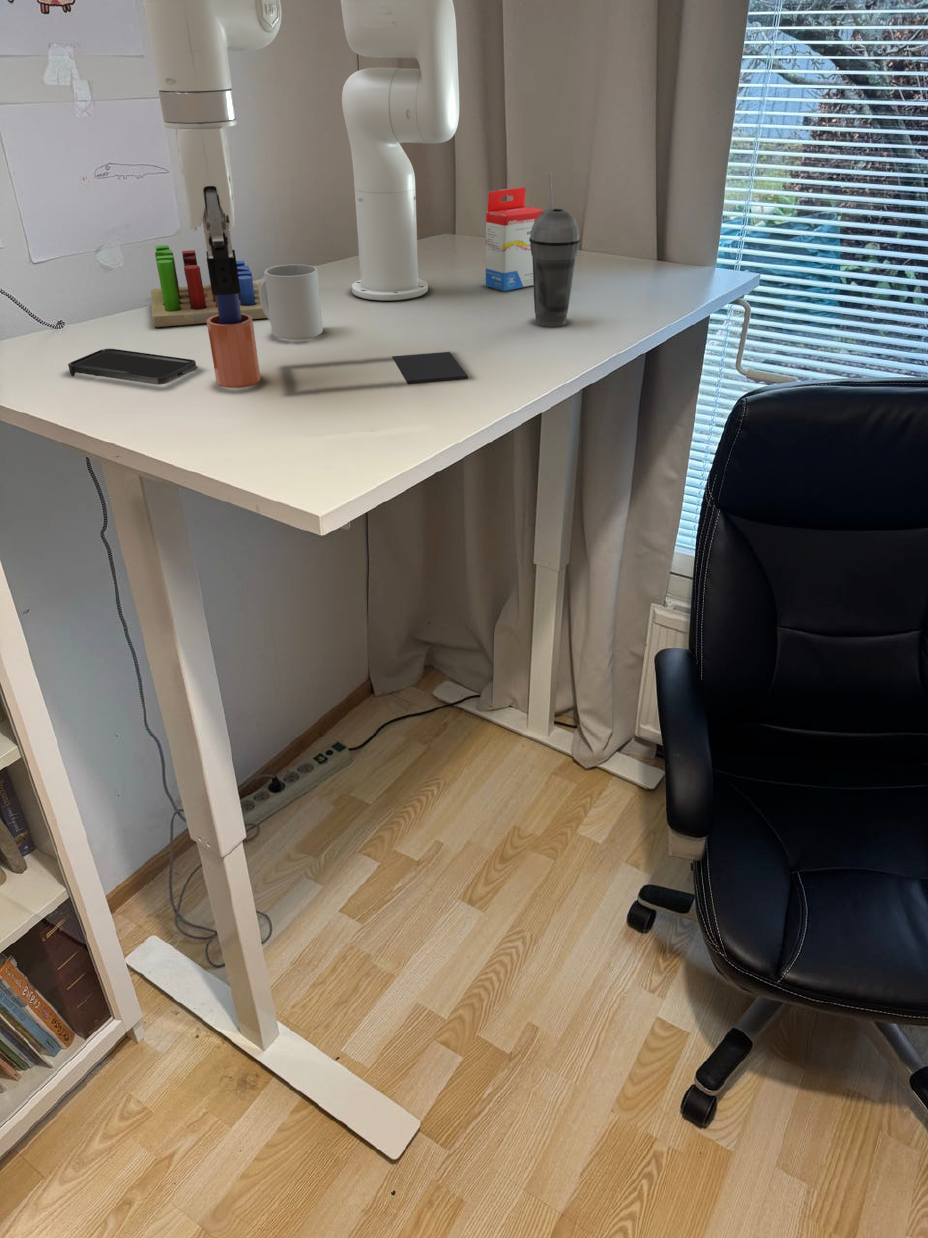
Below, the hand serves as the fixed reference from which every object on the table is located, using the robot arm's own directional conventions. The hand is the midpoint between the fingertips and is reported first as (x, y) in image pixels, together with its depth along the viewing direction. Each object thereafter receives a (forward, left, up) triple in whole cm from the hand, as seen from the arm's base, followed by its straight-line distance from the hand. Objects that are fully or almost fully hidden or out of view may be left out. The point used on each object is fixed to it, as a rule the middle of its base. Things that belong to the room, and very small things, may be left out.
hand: (226, 288), depth 104 cm
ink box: (-39, +47, -12) cm, 62 cm away
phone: (-8, -13, -11) cm, 19 cm away
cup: (-20, +8, -12) cm, 24 cm away
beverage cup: (-16, +46, -12) cm, 50 cm away
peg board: (-37, -3, -12) cm, 39 cm away
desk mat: (0, +17, -11) cm, 20 cm away
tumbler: (0, 0, -11) cm, 11 cm away
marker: (0, 0, -9) cm, 9 cm away
